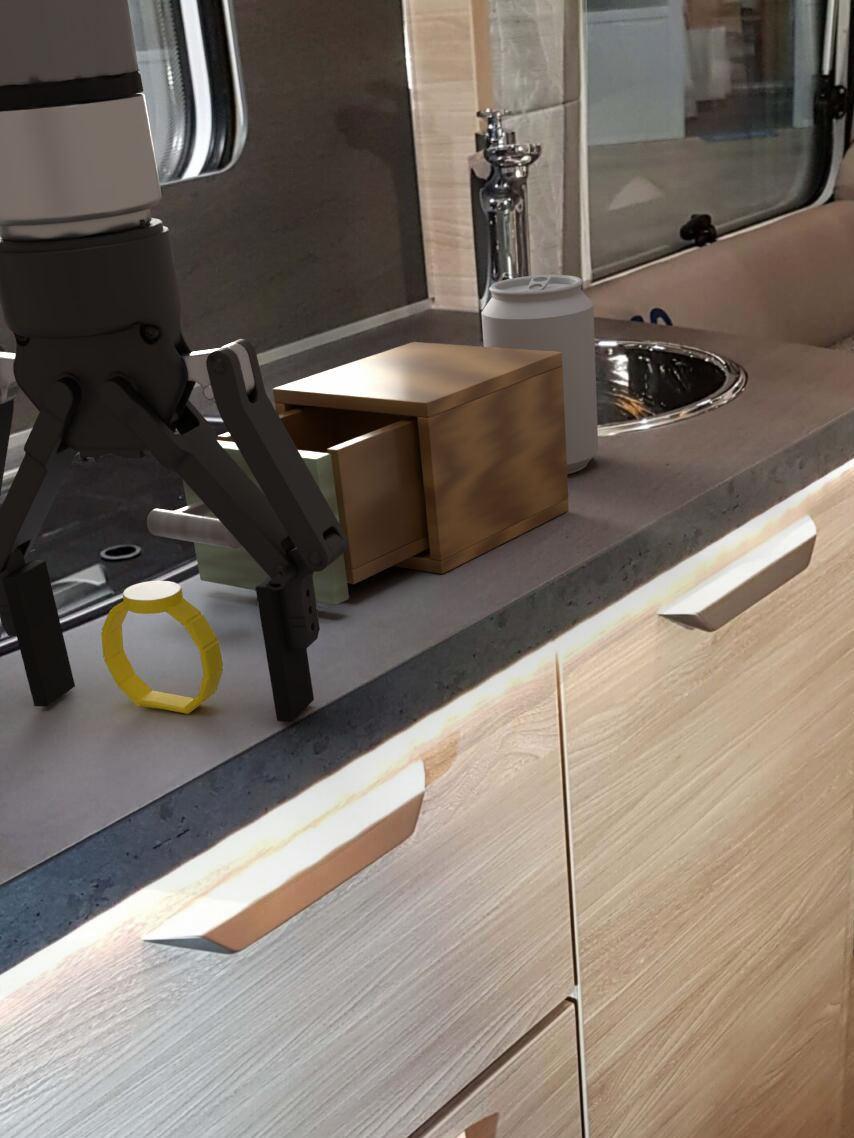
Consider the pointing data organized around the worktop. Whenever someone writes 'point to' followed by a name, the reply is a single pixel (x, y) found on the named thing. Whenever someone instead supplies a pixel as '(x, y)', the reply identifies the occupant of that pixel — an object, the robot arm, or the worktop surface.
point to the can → (552, 345)
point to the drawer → (350, 486)
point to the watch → (171, 600)
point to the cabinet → (464, 436)
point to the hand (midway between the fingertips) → (172, 704)
